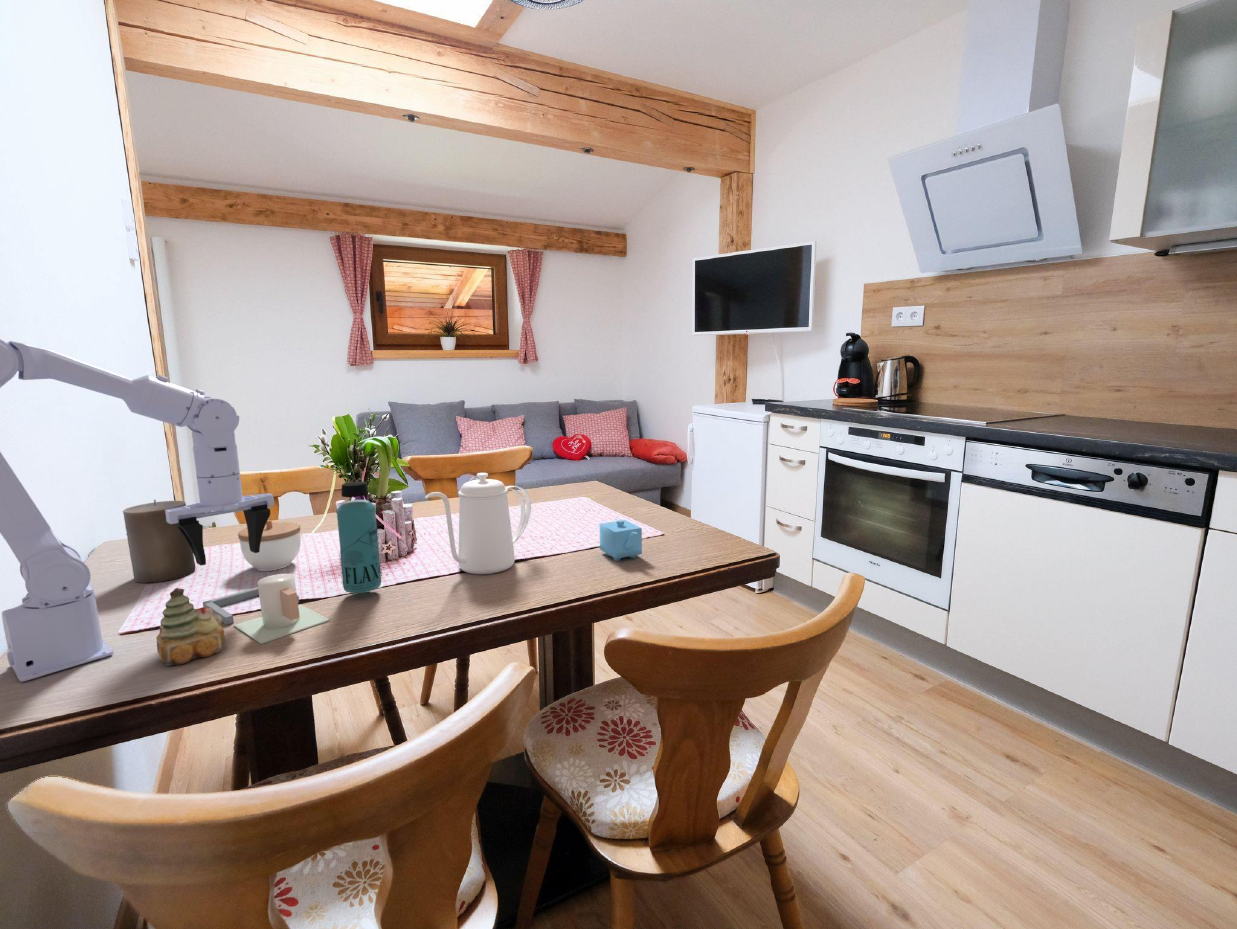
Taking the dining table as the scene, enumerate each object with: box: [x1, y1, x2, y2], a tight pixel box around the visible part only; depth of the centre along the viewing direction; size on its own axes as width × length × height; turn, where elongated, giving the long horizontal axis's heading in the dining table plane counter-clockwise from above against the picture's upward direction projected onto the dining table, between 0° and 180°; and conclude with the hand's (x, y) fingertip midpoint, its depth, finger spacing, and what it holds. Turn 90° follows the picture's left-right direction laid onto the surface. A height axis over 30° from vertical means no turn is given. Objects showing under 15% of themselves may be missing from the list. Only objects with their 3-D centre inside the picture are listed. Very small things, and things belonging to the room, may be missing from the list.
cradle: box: [202, 586, 300, 626], centre depth 101 cm, size 11×10×1 cm
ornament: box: [156, 587, 226, 667], centre depth 84 cm, size 8×6×10 cm
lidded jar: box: [237, 519, 302, 572], centre depth 120 cm, size 11×11×9 cm
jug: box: [256, 573, 300, 629], centre depth 93 cm, size 8×5×7 cm, turn 51°
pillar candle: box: [122, 499, 196, 584], centre depth 116 cm, size 10×10×15 cm
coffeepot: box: [424, 472, 532, 575], centre depth 117 cm, size 11×25×19 cm, turn 143°
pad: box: [233, 603, 330, 645], centre depth 94 cm, size 10×10×1 cm
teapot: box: [599, 519, 643, 562], centre depth 123 cm, size 12×6×8 cm, turn 27°
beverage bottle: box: [335, 481, 383, 594], centre depth 104 cm, size 6×7×20 cm
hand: (228, 557), depth 97 cm, fingers open, 7 cm apart
